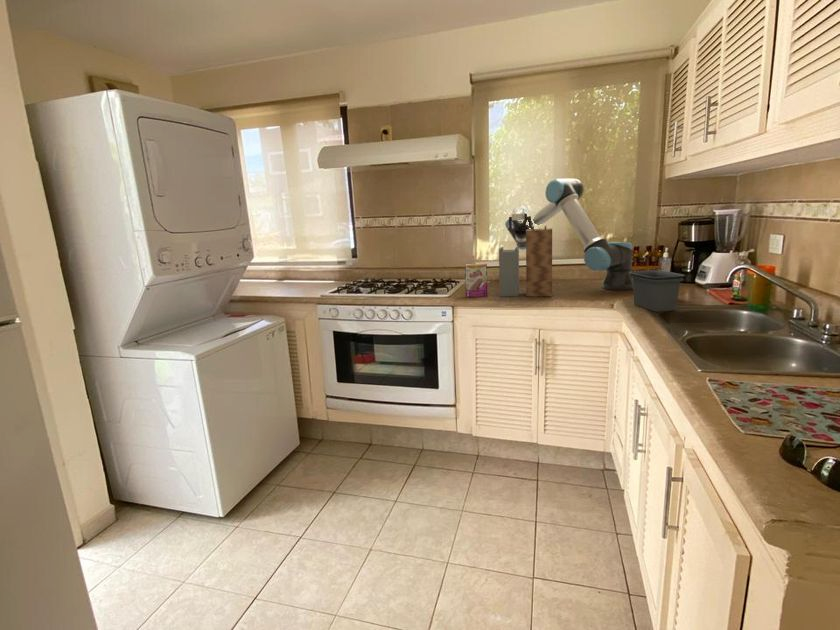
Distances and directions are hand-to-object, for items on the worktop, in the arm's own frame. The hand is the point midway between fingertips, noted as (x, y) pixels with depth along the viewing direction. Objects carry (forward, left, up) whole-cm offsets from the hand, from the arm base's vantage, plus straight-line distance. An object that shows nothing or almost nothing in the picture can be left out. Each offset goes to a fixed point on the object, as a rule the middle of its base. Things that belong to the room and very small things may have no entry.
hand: (518, 211), depth 235 cm
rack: (+1, +12, -41) cm, 43 cm away
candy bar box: (+15, +22, -41) cm, 49 cm away
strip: (-1, +3, -4) cm, 5 cm away
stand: (-14, +11, -41) cm, 45 cm away
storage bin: (-67, +29, -41) cm, 84 cm away
